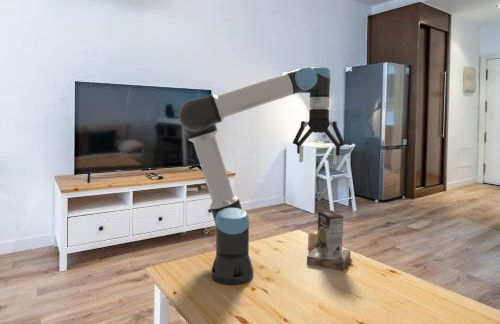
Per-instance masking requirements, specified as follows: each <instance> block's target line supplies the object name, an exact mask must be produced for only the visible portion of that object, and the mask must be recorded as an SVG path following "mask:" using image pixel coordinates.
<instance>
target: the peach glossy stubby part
mask: <svg viewBox="0 0 500 324" xmlns="http://www.w3.org/2000/svg"><path fill="white" fill-rule="evenodd" d="M307 234H308V235H307V249H308V250H310V251H312V250H313V249H314V248H315V246H316V245H318V229H315V230H313V229H312V230H309V231H308V232H307Z"/></svg>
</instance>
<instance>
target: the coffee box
mask: <svg viewBox="0 0 500 324" xmlns="http://www.w3.org/2000/svg"><path fill="white" fill-rule="evenodd" d="M317 212H318V213H317V216H318V217H317V230H318V245H317V249H318V250H319V251H320V252H321V253H323V254H324V255H325V256H327V257H328V258H329V257H337V256H342V249H343V234H344V233H343V230H344V215H342V214H339V213H338V212H336V211H333V210H319V211H317Z"/></svg>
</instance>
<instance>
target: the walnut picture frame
mask: <svg viewBox="0 0 500 324" xmlns="http://www.w3.org/2000/svg"><path fill="white" fill-rule="evenodd" d="M350 259H351V250H350V249H345V248H342V256H337V257H329V258H328V257H327V256H325V255H324V254H323V253H321V252H320V251H319V250H318V249H317V245H316V246H315V248H314V249H313V250H310V253H308V255H307V256H306V264H307V265H312V266H318V267H322V268H328V269H333V270H337V271H344V270H345V268H346V266H347V264H348V263H349V261H350Z"/></svg>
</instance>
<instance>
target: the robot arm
mask: <svg viewBox="0 0 500 324" xmlns="http://www.w3.org/2000/svg"><path fill="white" fill-rule="evenodd" d="M330 89H331V70H330V69H329V68H328V67H324V66H319V67H318V66H316V67H311V66H302V67H300V68H298V69H296V70H295V69H294V70H293V71H287V72H281V73H280V74H279V75H278V76H274V77H271V78H268V79H265V80H261V81H259V82H256V83H253V84H250V85H247V86H244V87H241V88H238V89H235V90H232V91H230V92H225V93H223V94H220V95H215V94H210V95H206V96H203V97H197V98H196V97H195V98H192V99H188V100H186V101H185V102H184V103H183V104H182V105H181V106H180V108H179V112H178V118H179V122H180V124H181V126H182V127H183V130H184V132H185V135H186V138H187V140H188V141H189V142H191V143H193V146H194V150H195V152H196V155H197V158H198V161H199V165H200V167H201V172H202V174H203V177H204V180H205V184H206V185H207V186H206V187H207V190H208V193H209V196H210V199H211V204H210V205H209V208H210V211H211V215H212V218H213V220H214V221H213V222H214V224H215V249H216V250H215V258H214V261H213V264H212V267H211V273H210V274H211V279H212V280H213V281H215V282H216V283H218V284H223V285H232V286H233V285H241V284H244V283H248V282H250V281H251V280H252V279H253V277H254V266H253V263H252V261H251V258H250V255H249V254H250V253H249V250H250V246H249V245H250V237H249V236H250V235H249V234H250V231H249V230H250V229H249V228H250V227H249V226H250V217H249V213H248V212H247V211H245V210H244V209H243V207H242V205H241V202H240V198H239V196H236V195H235V194H234V192H233V189H232V186H231V182H230V180H229V176H228V173H227V171H226V168H225V164H224V159H223V157H222V154H221V152H220V150H221V149H220V148H219V145H218V141H217V138H216V134H217V133H218V129H217V125H216V124H219V123H222V122H223V121H224V119H225V118H228V117H230V116H233V115H237V114H239V113H242V112H245V111H247V110H251V109H254V108H257V107H259V106H262V105H266V104H269V103H271V102H274V101H277V100H280V99H283V98H286V97H289V96H293V95H296V94H298V93H299V94H303V93H304V94H309V108H310V109H309V110H308V112H309V114H308V115H309V116H308V121H305V120H301V122H300V127H299V129H298V130H297V133H296V134H295V137H294V139H293V141H292V144H294V145H296V146H297V147H296V149H297V150H296V151H297V152H296V153H297V154H298V156H299V157H298V162H299V163H303V162H304V145H303V144H304V143H305V142H306V140H307V139H308V138H309V137H310V135H311V134H312V133H315V134H317V133H320V134H325V135H326V136H327V137H328V138H329V140H330V141H331V142H332V143H333V145H334V146H335V147H333V156H332V157H333V161H332V164H333V165H337V161H338V156H340V153H341V147H344V146H345V145H346V142H345V140H344V138H343V135H342V134H341V132H340V129H339V127H338V122H337V121H336V120H333V121H330V110H329V109H328V108H330V91H331V90H330ZM306 127H309V129H308V130H307V131H306V132H305V134H304V135H303V136H302V134H303V132H304V131H305V128H306ZM329 127H331V128H332V129H333V131H334V133H335V135H336V138H337V139H336V138H335V136H334V135H333V134H332V132H331V131H330V129H329ZM301 136H302V137H301Z"/></svg>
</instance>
